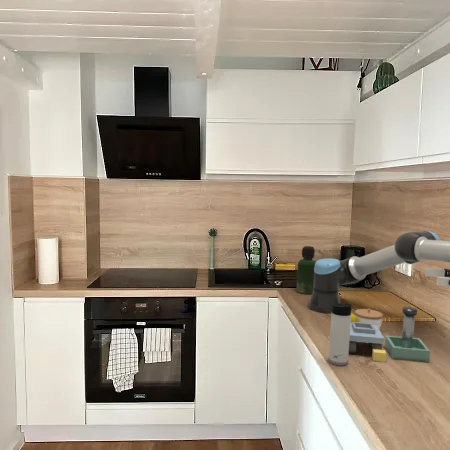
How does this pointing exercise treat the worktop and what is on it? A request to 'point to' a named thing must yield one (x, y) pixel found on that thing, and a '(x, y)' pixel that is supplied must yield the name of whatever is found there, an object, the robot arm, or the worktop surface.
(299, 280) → the green bottle
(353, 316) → the lemon
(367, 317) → the lidded jar
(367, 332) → the blue recessed platform
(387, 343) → the tray
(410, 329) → the clear capped cylinder
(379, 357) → the block
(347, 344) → the travel mug
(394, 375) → the worktop surface
